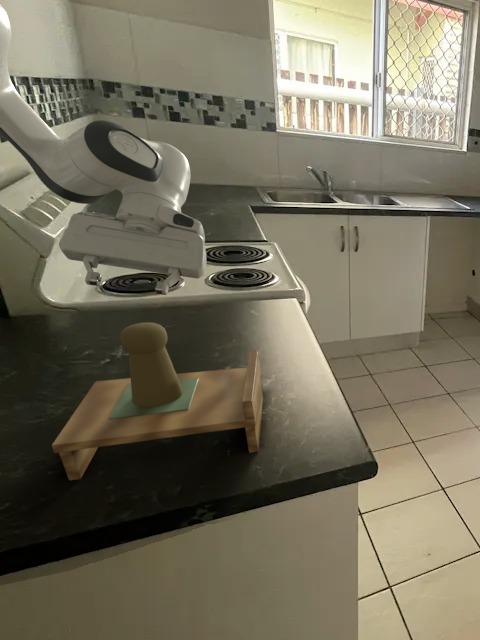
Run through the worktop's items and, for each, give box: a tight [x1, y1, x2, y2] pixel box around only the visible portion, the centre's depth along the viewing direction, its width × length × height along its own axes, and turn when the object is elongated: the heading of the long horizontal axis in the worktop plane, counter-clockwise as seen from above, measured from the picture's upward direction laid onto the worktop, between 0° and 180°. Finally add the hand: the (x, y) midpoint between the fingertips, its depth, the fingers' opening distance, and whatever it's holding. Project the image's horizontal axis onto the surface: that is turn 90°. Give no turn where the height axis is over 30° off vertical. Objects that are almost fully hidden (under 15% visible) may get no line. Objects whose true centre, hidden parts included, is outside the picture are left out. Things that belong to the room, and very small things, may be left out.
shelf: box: [51, 349, 264, 481], centre depth 69 cm, size 22×16×9 cm
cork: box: [119, 322, 183, 407], centre depth 66 cm, size 6×6×11 cm
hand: (127, 288), depth 79 cm, fingers open, 8 cm apart
